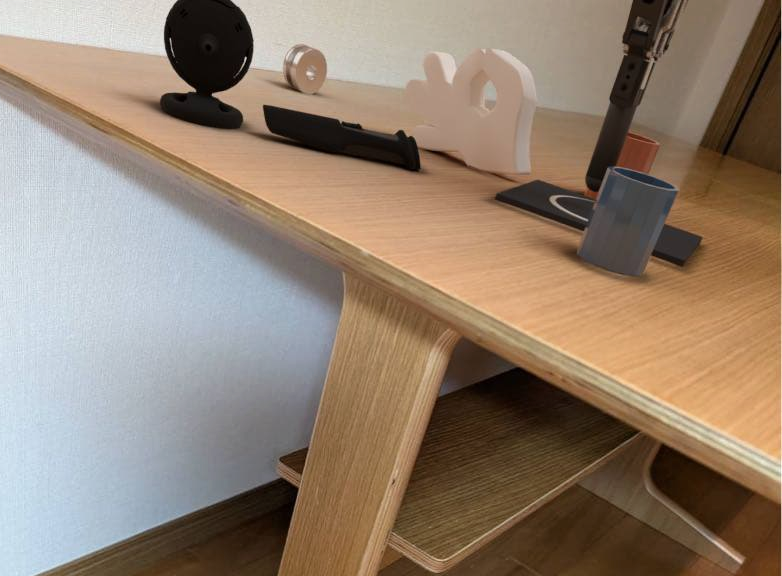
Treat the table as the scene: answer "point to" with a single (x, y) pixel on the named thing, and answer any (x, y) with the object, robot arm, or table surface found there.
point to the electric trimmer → (342, 136)
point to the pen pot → (634, 156)
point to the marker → (611, 139)
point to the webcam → (207, 59)
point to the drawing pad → (578, 209)
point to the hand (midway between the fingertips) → (623, 104)
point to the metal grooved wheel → (305, 68)
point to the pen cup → (626, 221)
